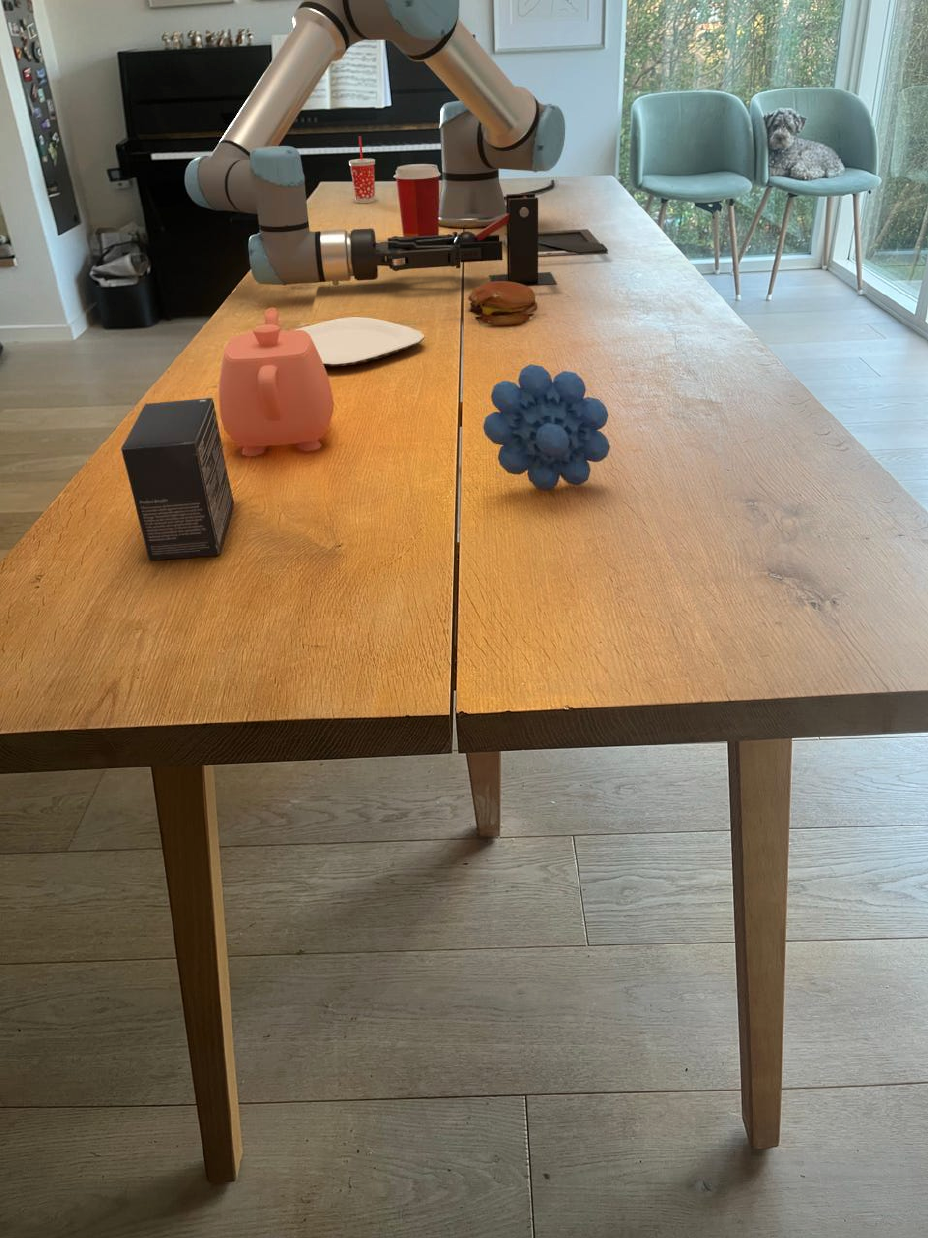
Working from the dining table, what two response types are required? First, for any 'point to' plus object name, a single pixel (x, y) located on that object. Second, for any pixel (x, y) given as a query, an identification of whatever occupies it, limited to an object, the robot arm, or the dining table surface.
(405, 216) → the coffee cup
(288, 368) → the teapot
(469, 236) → the switch lever
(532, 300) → the burger
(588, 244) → the picture frame
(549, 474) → the blue beaded flower
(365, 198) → the beverage cup
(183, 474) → the small box
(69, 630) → the dining table surface
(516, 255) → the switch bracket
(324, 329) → the plate
